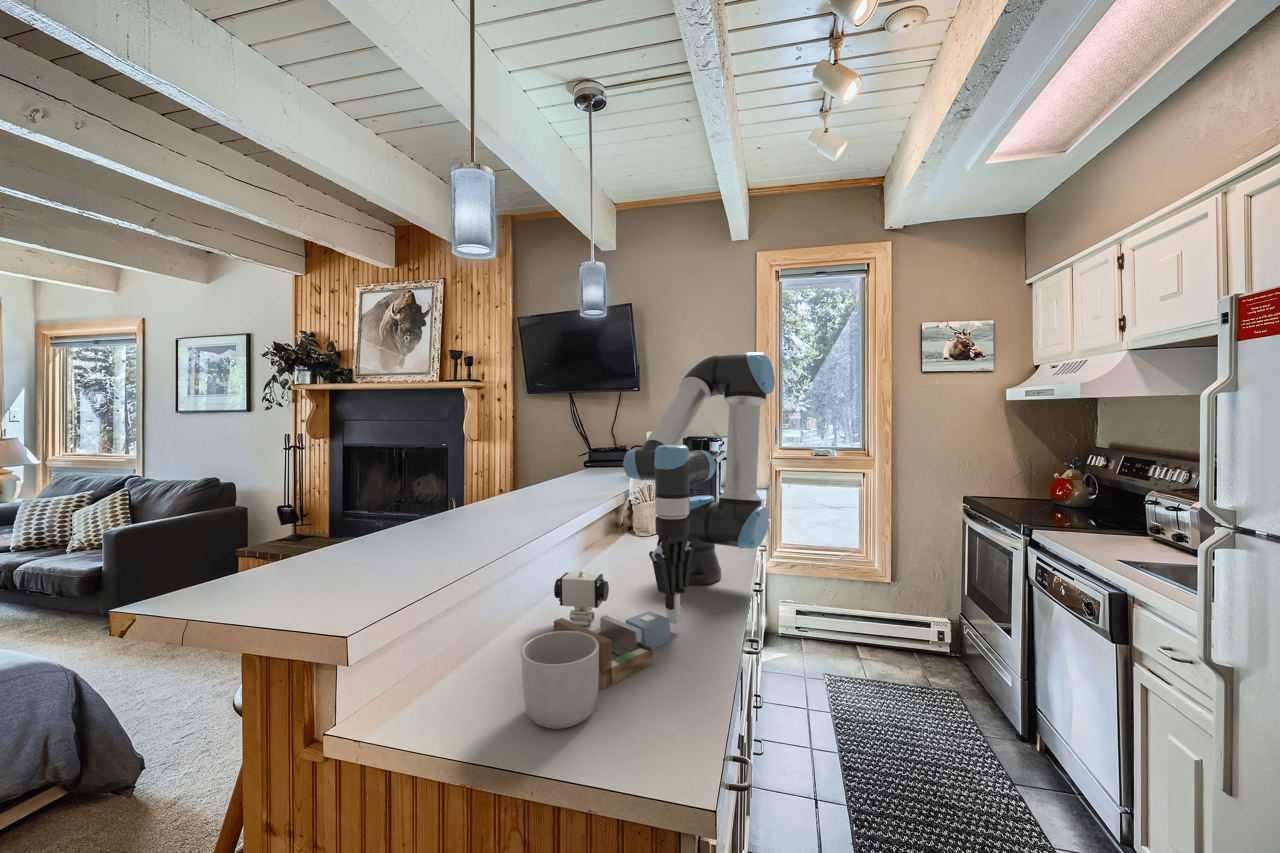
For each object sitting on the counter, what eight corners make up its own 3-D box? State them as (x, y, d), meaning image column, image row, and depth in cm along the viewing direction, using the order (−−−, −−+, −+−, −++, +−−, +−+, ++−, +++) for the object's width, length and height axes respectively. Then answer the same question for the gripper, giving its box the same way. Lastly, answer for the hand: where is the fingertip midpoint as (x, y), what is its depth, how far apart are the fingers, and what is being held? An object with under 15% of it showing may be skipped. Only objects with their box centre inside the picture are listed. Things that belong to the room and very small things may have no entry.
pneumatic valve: (604, 629, 116) (603, 575, 116) (554, 625, 119) (553, 573, 118) (610, 619, 122) (609, 568, 121) (562, 616, 124) (561, 566, 124)
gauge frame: (603, 640, 110) (602, 603, 110) (653, 663, 100) (652, 622, 100) (554, 661, 102) (553, 620, 101) (603, 688, 91) (602, 643, 91)
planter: (531, 746, 76) (529, 672, 76) (515, 703, 87) (514, 638, 87) (611, 724, 81) (610, 655, 81) (586, 686, 92) (585, 625, 92)
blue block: (650, 633, 114) (649, 609, 114) (669, 642, 110) (669, 617, 109) (625, 643, 109) (625, 618, 109) (645, 653, 105) (645, 627, 105)
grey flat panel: (606, 643, 108) (605, 615, 108) (653, 665, 99) (652, 634, 98) (600, 646, 107) (600, 617, 107) (647, 668, 98) (646, 636, 97)
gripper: (679, 509, 122) (680, 609, 122) (639, 517, 113) (640, 626, 113) (704, 513, 116) (705, 618, 117) (665, 522, 107) (666, 636, 108)
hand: (673, 622), depth 115 cm, fingers closed
